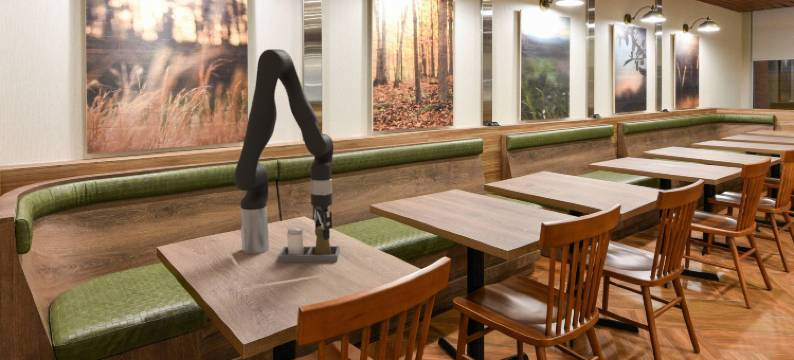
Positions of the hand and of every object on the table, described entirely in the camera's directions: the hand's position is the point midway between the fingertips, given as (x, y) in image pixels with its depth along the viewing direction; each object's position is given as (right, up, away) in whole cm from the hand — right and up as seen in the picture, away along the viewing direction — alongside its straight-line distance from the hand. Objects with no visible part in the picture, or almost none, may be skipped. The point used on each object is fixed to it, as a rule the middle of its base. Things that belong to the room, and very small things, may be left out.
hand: (322, 236), depth 194 cm
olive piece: (0, -8, +1) cm, 8 cm away
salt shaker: (-9, -8, +1) cm, 12 cm away
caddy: (-5, -8, +1) cm, 10 cm away
